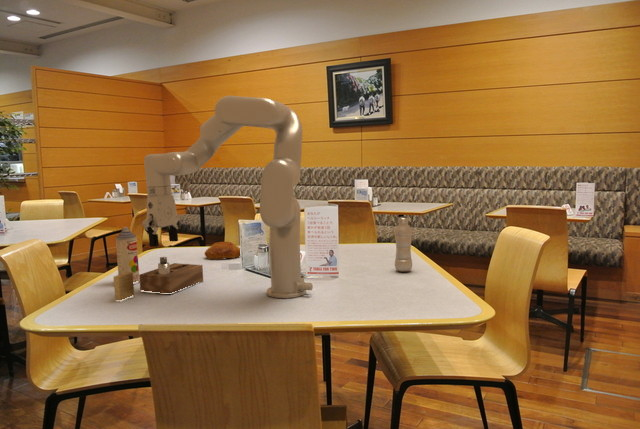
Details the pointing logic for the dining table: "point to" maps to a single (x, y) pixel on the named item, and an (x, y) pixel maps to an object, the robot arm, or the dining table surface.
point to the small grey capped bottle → (163, 266)
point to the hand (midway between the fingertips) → (164, 243)
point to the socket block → (171, 278)
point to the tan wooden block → (123, 286)
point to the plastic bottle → (403, 245)
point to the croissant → (222, 251)
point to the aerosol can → (127, 253)
